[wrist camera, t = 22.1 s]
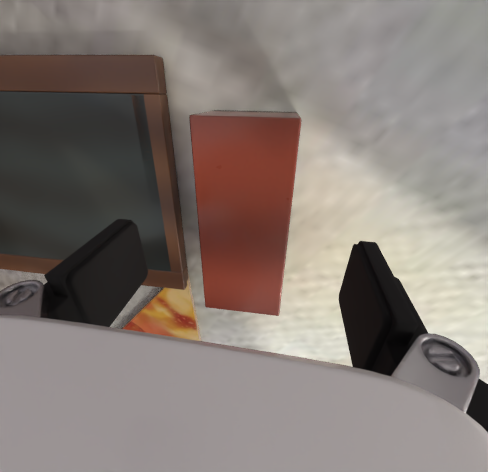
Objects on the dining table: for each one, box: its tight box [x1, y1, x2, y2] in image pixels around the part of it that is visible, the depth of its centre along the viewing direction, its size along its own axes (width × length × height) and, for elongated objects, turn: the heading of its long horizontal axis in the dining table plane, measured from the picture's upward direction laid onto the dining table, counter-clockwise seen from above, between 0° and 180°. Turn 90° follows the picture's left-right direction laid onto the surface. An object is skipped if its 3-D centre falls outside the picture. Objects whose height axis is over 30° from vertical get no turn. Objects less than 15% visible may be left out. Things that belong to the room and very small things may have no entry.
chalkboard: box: [0, 55, 188, 290], centre depth 21 cm, size 18×22×1 cm
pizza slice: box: [122, 275, 201, 341], centre depth 30 cm, size 16×22×2 cm
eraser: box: [189, 110, 301, 316], centre depth 17 cm, size 13×6×5 cm, turn 0°
